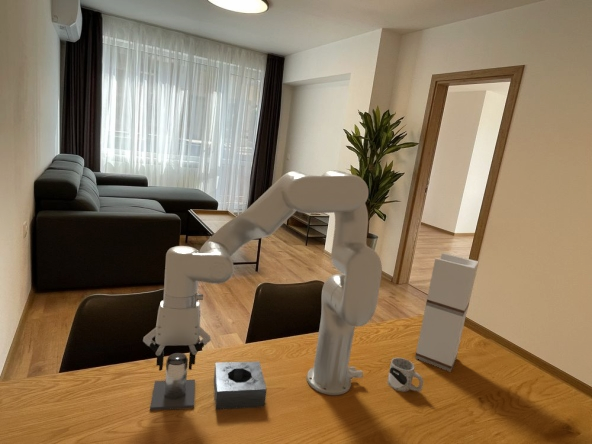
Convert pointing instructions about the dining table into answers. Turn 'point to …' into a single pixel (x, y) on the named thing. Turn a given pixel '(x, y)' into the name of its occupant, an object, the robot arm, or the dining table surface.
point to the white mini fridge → (446, 310)
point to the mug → (403, 375)
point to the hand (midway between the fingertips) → (175, 366)
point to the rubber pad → (165, 403)
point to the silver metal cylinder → (176, 376)
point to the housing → (239, 385)
